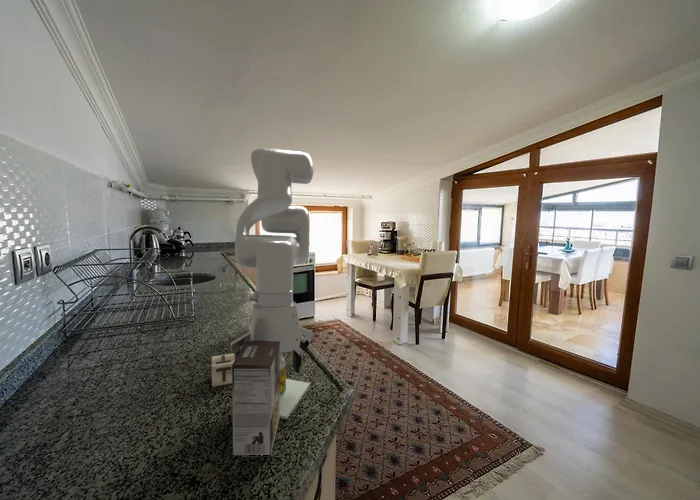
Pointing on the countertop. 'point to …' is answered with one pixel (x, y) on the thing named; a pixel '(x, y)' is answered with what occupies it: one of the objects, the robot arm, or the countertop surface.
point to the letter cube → (222, 369)
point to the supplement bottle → (282, 375)
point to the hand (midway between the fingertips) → (274, 374)
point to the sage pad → (291, 397)
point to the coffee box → (256, 397)
